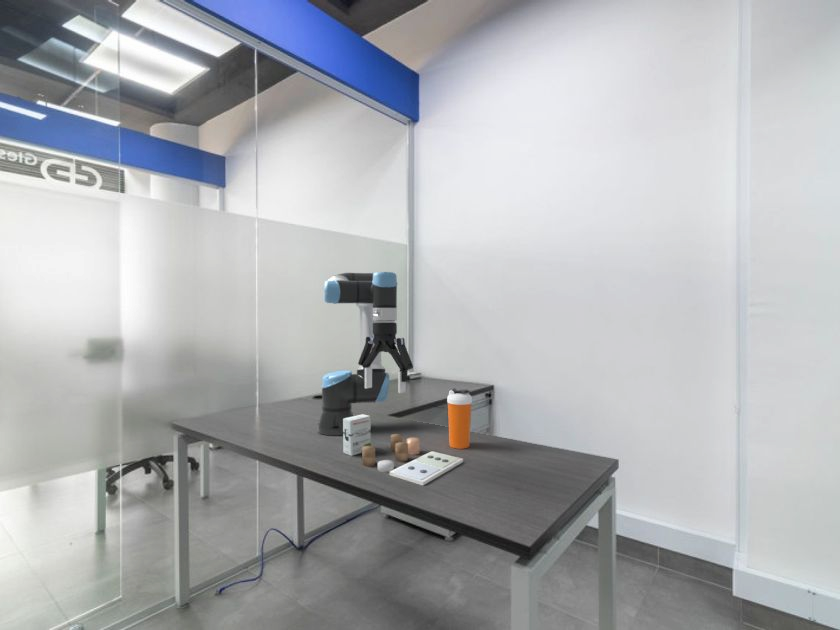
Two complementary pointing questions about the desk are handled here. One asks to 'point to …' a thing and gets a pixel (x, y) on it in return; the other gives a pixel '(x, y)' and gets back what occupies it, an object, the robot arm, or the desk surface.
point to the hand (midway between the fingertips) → (384, 390)
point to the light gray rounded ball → (385, 466)
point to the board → (426, 467)
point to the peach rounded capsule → (413, 446)
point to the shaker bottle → (459, 418)
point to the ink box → (356, 434)
